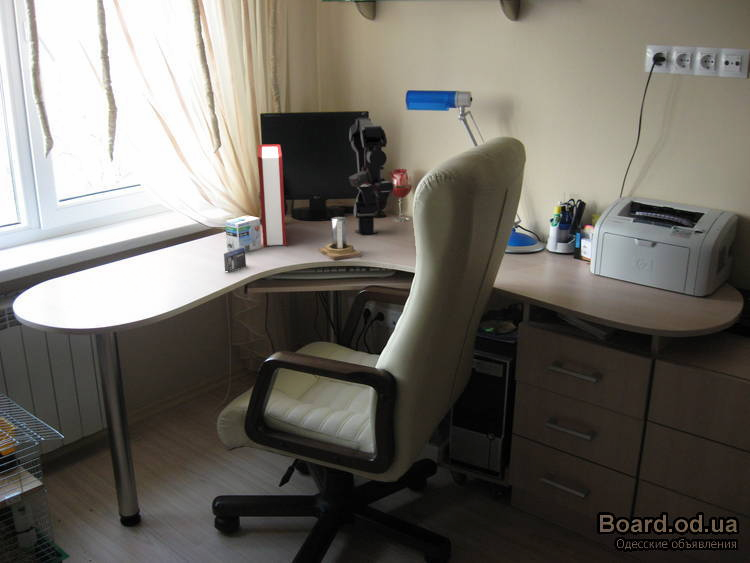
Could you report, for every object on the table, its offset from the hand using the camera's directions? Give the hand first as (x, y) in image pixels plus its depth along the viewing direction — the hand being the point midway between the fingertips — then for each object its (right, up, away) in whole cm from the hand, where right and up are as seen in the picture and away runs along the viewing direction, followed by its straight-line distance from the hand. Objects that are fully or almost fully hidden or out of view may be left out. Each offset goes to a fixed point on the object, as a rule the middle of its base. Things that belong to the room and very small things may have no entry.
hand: (373, 208), depth 257 cm
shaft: (-12, -15, -7) cm, 20 cm away
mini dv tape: (-44, -22, -21) cm, 53 cm away
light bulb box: (-45, -14, 0) cm, 47 cm away
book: (-37, -9, +15) cm, 41 cm away
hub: (-12, -16, -6) cm, 21 cm away
